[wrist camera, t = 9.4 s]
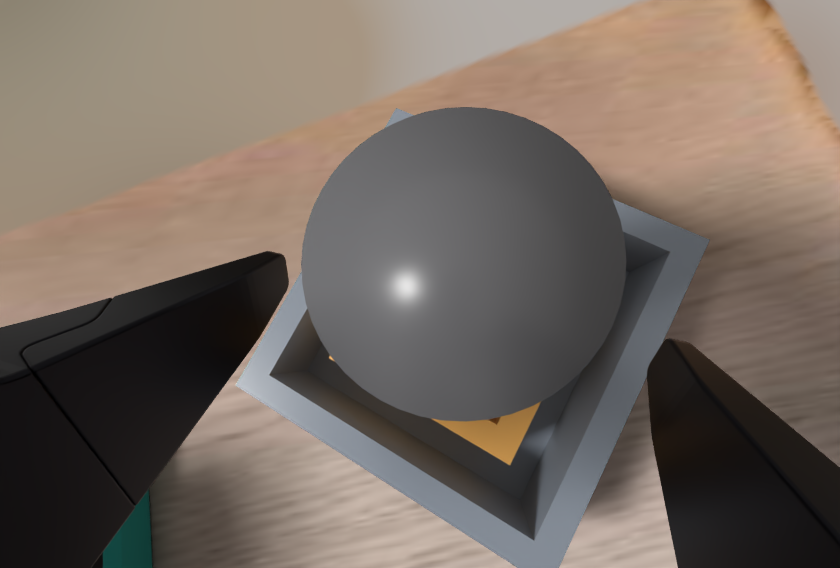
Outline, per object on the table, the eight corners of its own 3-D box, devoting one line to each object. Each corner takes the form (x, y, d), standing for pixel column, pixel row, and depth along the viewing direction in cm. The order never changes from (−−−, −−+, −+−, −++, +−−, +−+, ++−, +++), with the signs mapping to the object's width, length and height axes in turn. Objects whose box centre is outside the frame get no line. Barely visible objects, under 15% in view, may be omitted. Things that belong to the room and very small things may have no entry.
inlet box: (527, 525, 17) (549, 588, 12) (289, 377, 19) (235, 385, 15) (650, 267, 18) (709, 239, 13) (411, 161, 20) (396, 107, 16)
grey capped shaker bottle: (517, 370, 17) (651, 417, 4) (418, 373, 17) (298, 425, 5) (508, 273, 18) (602, 90, 5) (414, 279, 18) (303, 124, 6)
